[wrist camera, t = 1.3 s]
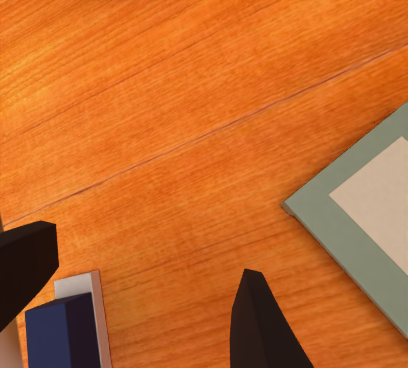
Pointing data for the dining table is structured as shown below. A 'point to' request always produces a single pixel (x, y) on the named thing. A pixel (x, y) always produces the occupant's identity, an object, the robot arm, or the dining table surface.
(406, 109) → the green platform tray
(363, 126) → the dining table surface
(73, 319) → the navy blue rectangular block
